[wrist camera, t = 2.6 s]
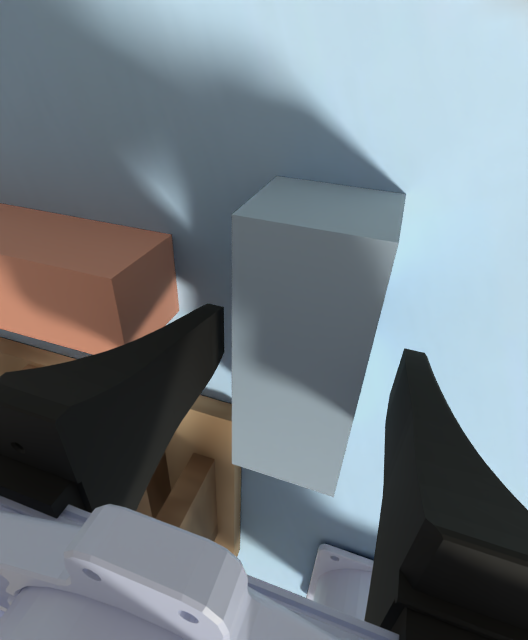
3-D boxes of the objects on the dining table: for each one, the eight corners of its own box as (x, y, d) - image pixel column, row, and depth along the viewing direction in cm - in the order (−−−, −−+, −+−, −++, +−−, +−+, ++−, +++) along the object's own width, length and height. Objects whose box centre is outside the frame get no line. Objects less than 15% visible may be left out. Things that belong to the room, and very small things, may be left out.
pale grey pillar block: (406, 191, 12) (398, 242, 9) (350, 417, 18) (333, 497, 15) (278, 174, 13) (231, 214, 10) (264, 393, 19) (231, 463, 16)
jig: (242, 407, 19) (179, 528, 15) (239, 549, 27) (199, 657, 23) (-17, 332, 23) (-135, 408, 18) (47, 476, 31) (-23, 555, 26)
